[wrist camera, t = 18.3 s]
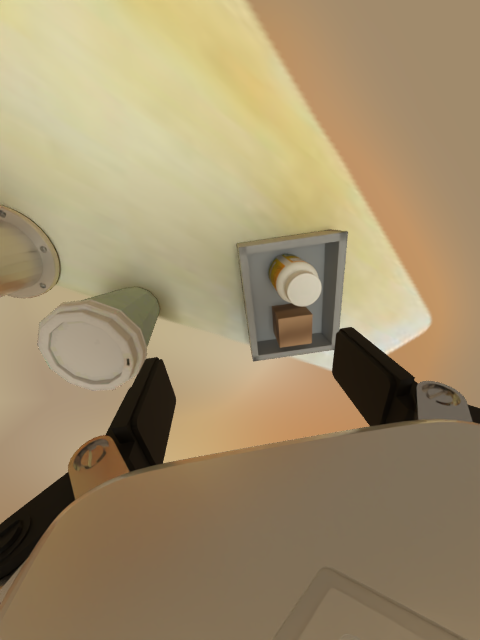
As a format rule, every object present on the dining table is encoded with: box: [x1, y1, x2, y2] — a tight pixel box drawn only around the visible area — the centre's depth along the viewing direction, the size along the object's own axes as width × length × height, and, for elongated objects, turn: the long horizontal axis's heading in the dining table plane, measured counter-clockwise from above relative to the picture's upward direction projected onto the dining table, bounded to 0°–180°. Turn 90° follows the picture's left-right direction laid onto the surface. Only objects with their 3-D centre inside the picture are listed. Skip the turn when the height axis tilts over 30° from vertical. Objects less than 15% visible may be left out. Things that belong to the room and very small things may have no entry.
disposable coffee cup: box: [37, 287, 160, 391], centre depth 27 cm, size 11×11×15 cm
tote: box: [237, 230, 348, 361], centre depth 33 cm, size 14×18×5 cm
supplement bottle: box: [268, 254, 322, 307], centre depth 28 cm, size 5×5×10 cm
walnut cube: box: [272, 303, 313, 348], centre depth 34 cm, size 5×5×5 cm
